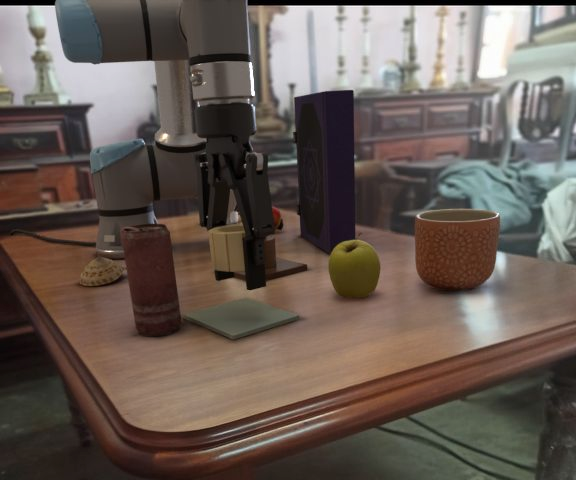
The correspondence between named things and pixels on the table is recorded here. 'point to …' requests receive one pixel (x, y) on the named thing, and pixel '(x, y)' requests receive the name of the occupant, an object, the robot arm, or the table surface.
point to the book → (326, 167)
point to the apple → (354, 268)
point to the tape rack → (275, 263)
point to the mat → (240, 317)
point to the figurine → (276, 215)
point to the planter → (456, 247)
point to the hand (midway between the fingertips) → (240, 282)
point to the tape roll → (227, 247)
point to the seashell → (100, 272)
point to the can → (151, 278)
